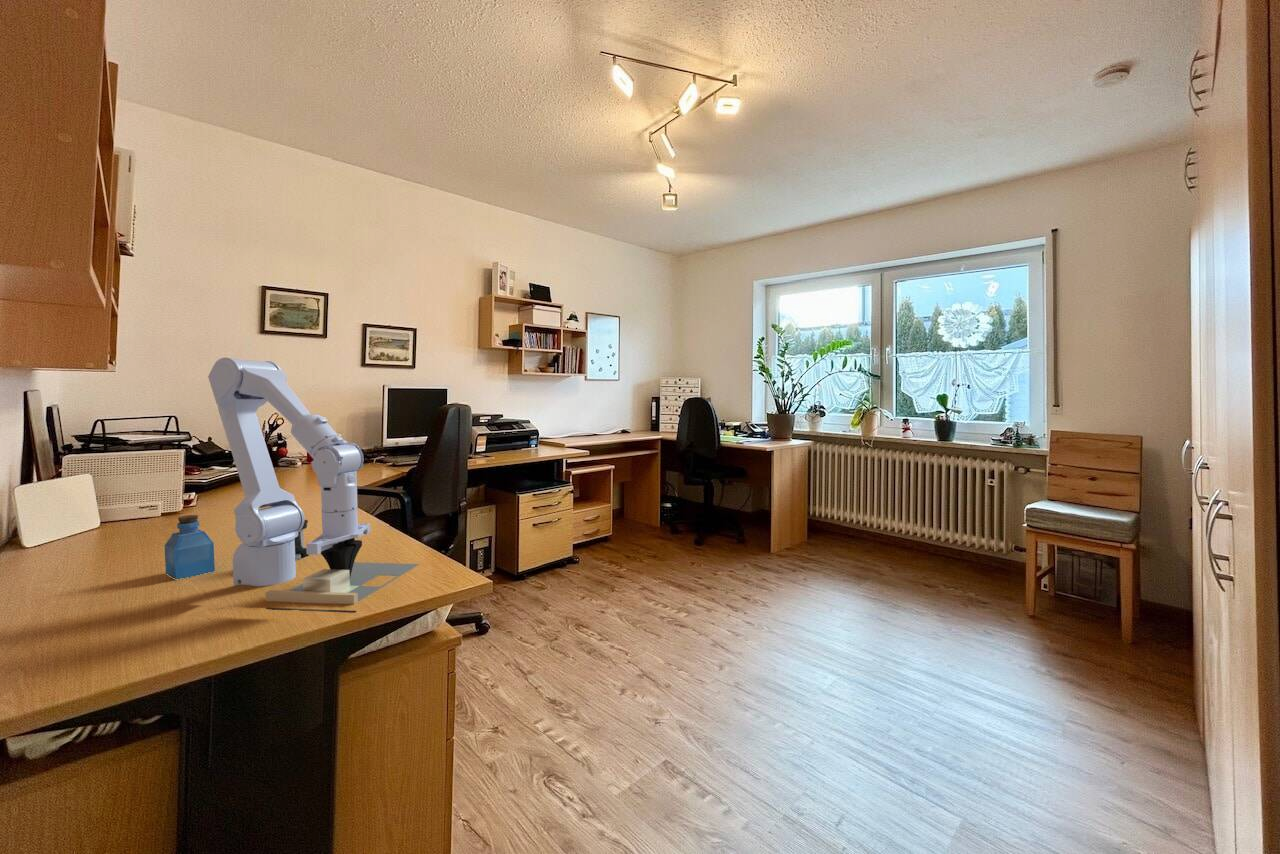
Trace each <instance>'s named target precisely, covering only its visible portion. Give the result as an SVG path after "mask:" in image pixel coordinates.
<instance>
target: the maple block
mask: <svg viewBox="0 0 1280 854" xmlns="http://www.w3.org/2000/svg"><path fill="white" fill-rule="evenodd" d="M302 584H303V591H310V592H341V593H343V592H345V591H347V590H349V589H350V573H349V570H335V569H330V568H329V569H328V568H324V569H321V570H319V571H316V572H315V573H312V574H311V575H308V576H305V577H304V578H302Z"/></svg>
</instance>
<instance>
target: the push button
mask: <svg viewBox="0 0 1280 854" xmlns="http://www.w3.org/2000/svg"><path fill="white" fill-rule="evenodd" d="M308 523H309V521H308V519H304V525H303V527H302V529H301V530H300V531H298V537H295V538H294V539H295V562H297V561H300V560H301V559H304V558H306V557H309V556H310V554H307V550H306V544H304V543H305V541H304V529H307V528H308Z"/></svg>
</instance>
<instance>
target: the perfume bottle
mask: <svg viewBox="0 0 1280 854" xmlns="http://www.w3.org/2000/svg"><path fill="white" fill-rule="evenodd" d="M177 519H178V522H177V523H176V528H177V530H178V532H172V534H171V536H170V537H169V538H168V540H167V541H166V543H165V544H164V560H165V561H164V562H165V575H166V574H168V575H169V576H171V577H173V578H175V579H180V578H185V579H187V578H186V577H189V578H192V577H191V576H194V577H197V576H196V575H198V576H201V575H200V574H202V575H205V574H204V573H207V574H209V573H208V572H211V573H214V572H213V571H215V572H216V570H215V569H216V568H215V547H214V545H215V543H214V541H213V540H212V539H211V538H210V537H209V535H208V534H207V533H206V532H205V531H204V530H201V529H199V527H200V520H198V519H199V515H197V514H189V515H182V516H179V517H178V516H177ZM169 576H168V577H169ZM171 577H170V578H171ZM180 580H181V579H180Z"/></svg>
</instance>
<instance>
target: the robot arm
mask: <svg viewBox="0 0 1280 854" xmlns="http://www.w3.org/2000/svg"><path fill="white" fill-rule="evenodd" d="M207 378H208V381H209V384H210V388H211V390H212V394H213V397H214V400H215V402H216V405H217V411H218V413H219V417H220V420H221V422H222V423H221V424H222V426H223V430H224V432H225V435H226V439H227V442H228V447H229V448H230V451H231V454H232V458H233V461H234V464H235V468H236V470H237V474H238V477H239V480H240V483H241V487H242V490H243V493H244V495H245V496H244V497H243V498H242V500H241V501H240V502H239V503H238V504H237V505H236V506H235V508H234V509H233V513H234V517H235V526H234V530H235V534H236V536H237V538H238V539H239V541H240V542H242V543H241V544H240V545H238V546H237V548H236V549H235V550H234V552H233V555H232V575H233V576H232V578H233V587H235V586H239V585H243V586H244V585H245V586H252V587H269V586H274V585H280V584H283V583H287V582H289V581H292V580H294V579H295V578H296V577H297V572H296V570H297V567H296V566H297V565H296V561H295V539H294V538H295V537H298V531H300V530H301V529H302V527H303V525H304V520H305V513H304V511H303V509H302V508H301V506H299V504H298V503H297V501H296V497H295V496H294V494H292V493H291V492H288V491H286V490H284V489H282V488H281V487H280V485H279V482H278V478H277V475H276V472H275V468H274V466H273V462H272V459H271V457H270V453H269V450H268V447H267V444H266V441H265V437H264V434H263V430H262V428H261V426H260V425H261V424H260V421H259V418H258V415H257V411H258V410H259V408H260V407H262V406H265V405H266V403H267V402H268V403H269V404H270V405H271V406H272V407H273V408H274V409H276V411H277V412H279V413H280V415H282V417H283V418H285V419H286V420H287V421H288V422H289V423H290V424H291V429H290V434H291V435H292V437H293V438H294V439H295V440H296V441H297V443H298V444H300V446H301V447H302V448H303V449H304V450H305V451H306V452H307V453H308V454H309V456H310V457H311V458H312V461H311V462H310V464H311V468H312V470H313V472H314V473H315V475H316V477H317V484H318V485H319V487H320V498H321V499H320V500H321V501H320V502H321V504H320V505H321V525H322V526H321V529H322V532H321V534H320V535H319V536H317V537H316V538H314V539H313V540H311V541H309V542H307V543H306V544H305V548H306V550H307V554H309V555H315V556H318V555H321V556H322V557H323V558H324V560H325V562H326V563H327V565H328V567H329V569H335V570H349V573H350V576H351V572H352V568H353V564H354V562H356V561H355V560H356V557H357V556H358V553H359V551H360V549H361V548H362V546H363V540H361V539H359V538H360V537H363V536H364V535H368V534H370V533H371V523H365V522H364V523H359V514H358V513H359V512H358V507H359V506H358V480H357V479H358V478H357V477H358V476H357V473H358V472H359V471H360V470H361V469H362V467H363V465H364V461H365V459H364V453H363V451H362V450H361V449H360V447H359V445H358V444H357V443H353V442H348V441H347V440H346V439H343V437H342V436H340V435H339V434H338V433H337V432H336V431H335V429H333V427H332V426H331V425H330V424H329V423H328V422H329V420H328V419H327V418H326V417H325V416H322V415H320V414H315V413H313V414H311V413H310V411H308V409H307V408H306V406H305V405H304V404H303V402H302V401H301V400H300V398H299V397H298V396H297V394H296V393H295V392H294V391H293V389H292V388H291V387H290V385H289V383H287V373H286V372H284V370H282V368H281V367H280V365H279V364H277V363H276V362H275V361H268V360H267V361H265V360H264V361H259V360H249V359H238V358H232V357H226V356H225V357H221V358H219V359H217V360H216V361H215V362H214V364H213V365H212V368H211V370H210V372H209V373H208V376H207ZM265 507H266V508H265Z"/></svg>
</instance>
